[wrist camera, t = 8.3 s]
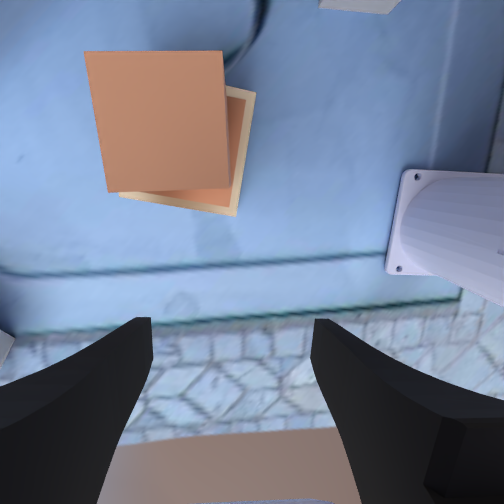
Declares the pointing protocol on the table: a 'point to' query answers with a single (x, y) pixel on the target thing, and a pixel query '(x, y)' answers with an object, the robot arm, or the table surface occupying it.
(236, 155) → the maple base
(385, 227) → the table surface
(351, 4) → the grey block
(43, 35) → the table surface
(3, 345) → the die
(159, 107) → the terracotta block
